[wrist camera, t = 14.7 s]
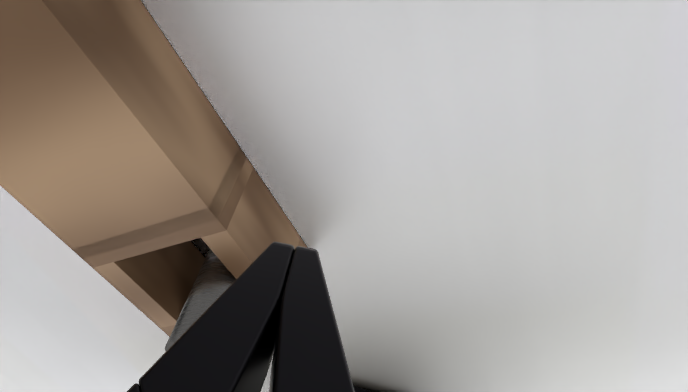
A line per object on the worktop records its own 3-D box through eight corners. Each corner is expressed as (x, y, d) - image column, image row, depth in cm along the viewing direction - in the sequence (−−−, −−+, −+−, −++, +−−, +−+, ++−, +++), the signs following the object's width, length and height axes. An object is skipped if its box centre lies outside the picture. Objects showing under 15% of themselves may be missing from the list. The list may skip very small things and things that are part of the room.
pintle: (263, 253, 19) (223, 378, 14) (216, 238, 18) (161, 361, 14) (276, 222, 17) (236, 349, 13) (226, 205, 17) (169, 329, 13)
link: (-257, -219, 10) (-469, -234, 8) (-119, -384, 8) (-336, -471, 6) (202, 278, 20) (175, 341, 18) (310, 252, 18) (296, 318, 16)
